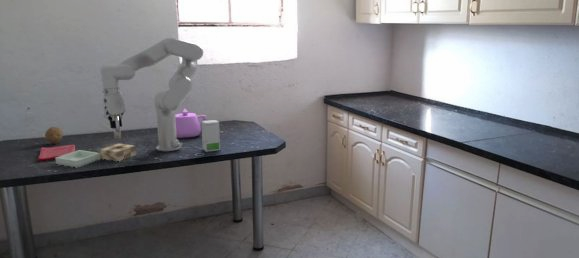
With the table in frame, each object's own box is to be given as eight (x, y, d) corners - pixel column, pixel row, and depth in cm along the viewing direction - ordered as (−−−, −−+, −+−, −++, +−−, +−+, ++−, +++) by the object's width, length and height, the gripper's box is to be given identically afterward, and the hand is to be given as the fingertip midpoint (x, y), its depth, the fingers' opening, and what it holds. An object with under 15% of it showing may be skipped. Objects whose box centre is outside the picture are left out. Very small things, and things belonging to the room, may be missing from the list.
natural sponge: (62, 145, 244) (59, 128, 241) (44, 147, 241) (42, 129, 239) (65, 141, 252) (62, 124, 250) (48, 142, 250) (45, 125, 247)
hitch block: (136, 154, 225) (135, 145, 224) (118, 161, 214) (117, 152, 213) (118, 152, 230) (117, 143, 228) (100, 158, 219) (99, 149, 218)
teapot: (208, 137, 257) (206, 112, 254) (171, 140, 253) (169, 114, 249) (206, 128, 279) (205, 105, 275) (172, 130, 275) (171, 107, 271)
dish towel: (37, 163, 214) (36, 158, 213) (40, 151, 235) (39, 146, 234) (75, 158, 221) (74, 153, 221) (75, 147, 242) (74, 142, 241)
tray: (100, 159, 218) (99, 153, 217) (77, 168, 205) (76, 161, 204) (80, 156, 223) (79, 150, 222) (56, 164, 211) (55, 157, 210)
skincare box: (205, 152, 229) (204, 123, 225) (202, 149, 234) (200, 121, 231) (220, 150, 233) (219, 121, 229) (217, 147, 238) (215, 119, 234)
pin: (124, 137, 221) (120, 111, 218) (117, 139, 217) (114, 113, 214) (117, 136, 223) (114, 111, 219) (111, 138, 219) (108, 113, 216)
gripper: (104, 94, 205) (109, 131, 210) (129, 88, 220) (133, 124, 224) (92, 93, 208) (98, 130, 213) (118, 88, 223) (122, 123, 227)
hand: (116, 126), depth 219 cm, fingers closed on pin, 3 cm apart
